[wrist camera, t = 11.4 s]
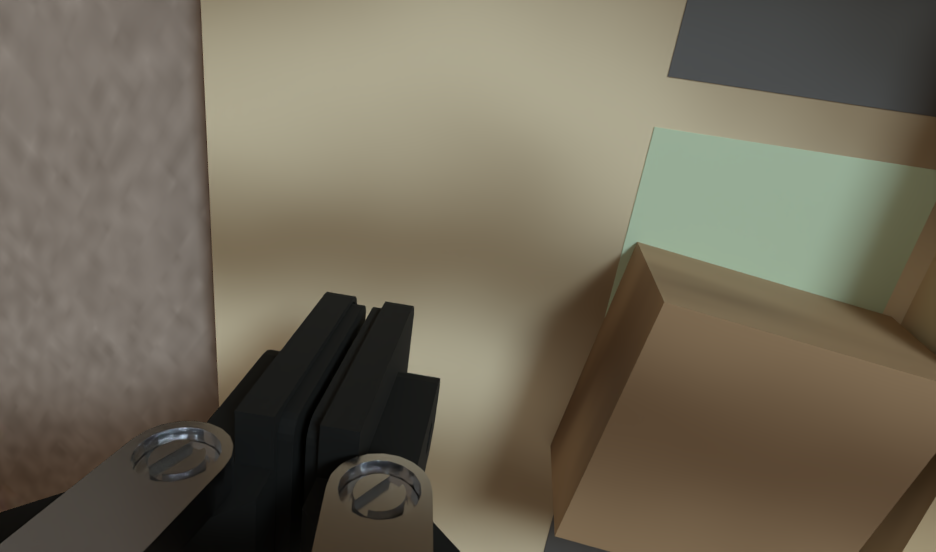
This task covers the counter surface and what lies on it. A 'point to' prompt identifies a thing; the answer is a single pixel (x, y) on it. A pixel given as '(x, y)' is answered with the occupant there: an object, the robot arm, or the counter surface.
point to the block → (738, 417)
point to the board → (521, 190)
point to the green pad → (781, 214)
